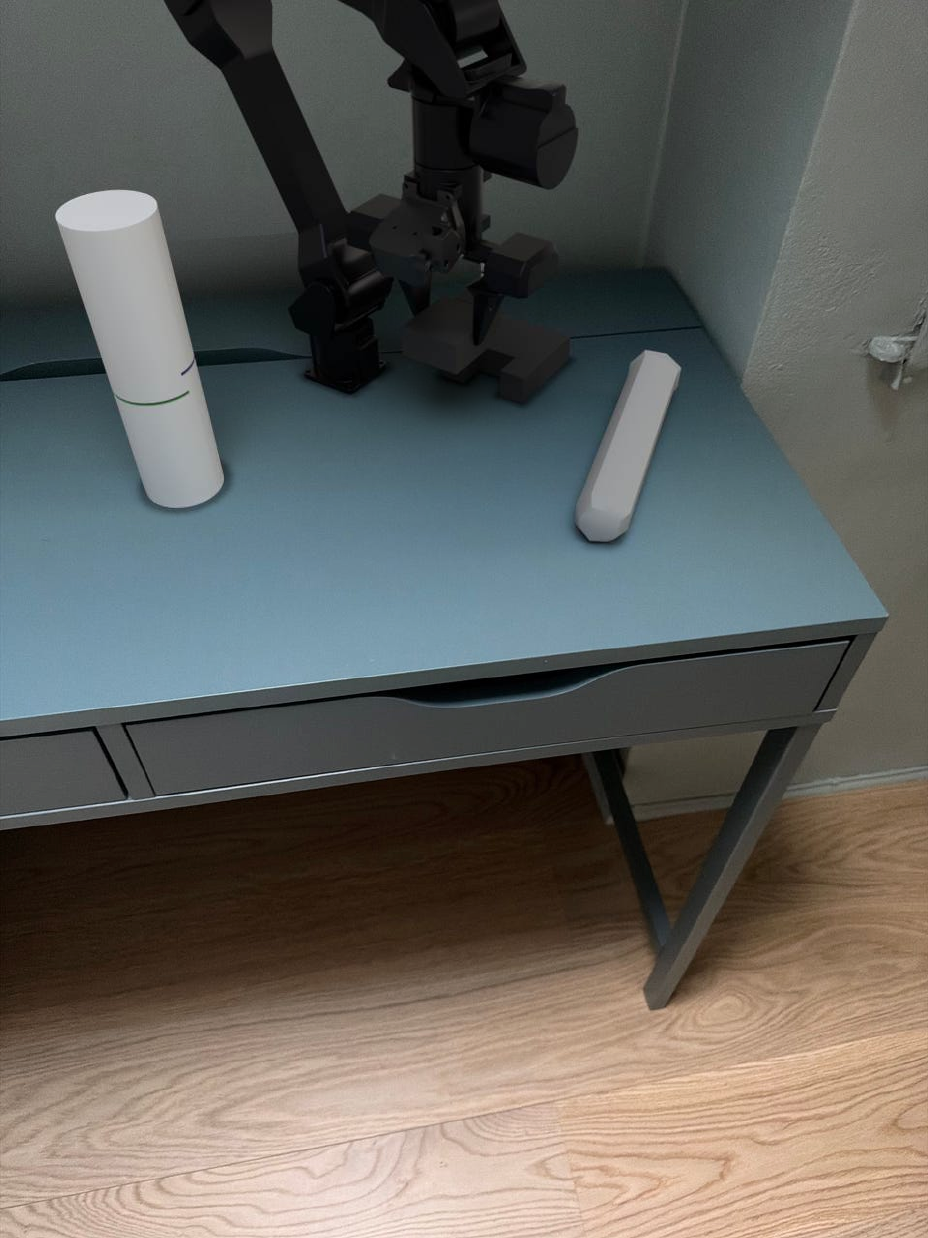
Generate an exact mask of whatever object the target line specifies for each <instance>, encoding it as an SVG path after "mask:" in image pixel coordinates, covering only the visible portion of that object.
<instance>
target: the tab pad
mask: <svg viewBox="0 0 928 1238" xmlns="http://www.w3.org/2000/svg"><path fill="white" fill-rule="evenodd" d="M473 303H474V297H473V295H472V294H471V293H470V292H469V291H468V289H467V288H466V289H465V290H464V291H462V292H461V293H460V294H458V295H457V296H455V297H451V296H448V295H445V294H443V295H441V297H439V298H438V299H436V300H435V301H434V302H433V303H430V306H429V307H427V308H426V309H425V310H423V311H422V312H420V313H419V314H418V315H416V316H415V317H414V316H413V317H412V318H411V319H409V320H408V321H406V322H405V323H404V324H403V325H401V343H402V344H401V345H402V356H404V357H405V358H406V357H407V358H408V359H412V360H415V361H417V362H419V363H423V364H426V365H427V366H431V367H434V368H436V369H440V370H441V371H442V370H445V371H448V372H450V373H453V374H458V373H459V372H460V371H461V370H463V369H464V368H465V367H466V366H467V365H468V364H470V363H471V362H472V361H473V360H474V359H476V358H477V357H478V356H479V355H480V354H482V353H483V352H484V351H485V350H486V349H488V348H489V347H490V346H491V345H492V344H493V343H495V342H496V336H497V328H498V327H499V326H500V325H501V314H502V306H503V305H502V303H503V302H502V303H501V305H500V307H499V309H498V311H497V313H496V315H495V318H494V320H493V322H492V324H491V326H490V328H489V330H488V332H487V334H486V337H485V339H484V341H483V342H482V343H481V344H480V345H479V346H476V345H474V340H473Z"/></svg>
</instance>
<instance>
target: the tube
mask: <svg viewBox="0 0 928 1238" xmlns="http://www.w3.org/2000/svg"><path fill="white" fill-rule="evenodd" d="M681 371H682V367H681V366H680V365H679V364H678V363H677V362H676V361H675V360H674V359H673V358H672V357H671V356H669V354H668V353H665V352H659V351H654V350H649V349H645V350H643V351H642V352H641V353H640V354H638V356H636V357H635V358H634V359H633V360H632V361H631V362H630V364H629V369H628V375H627V377H626V380H625V382H624V385H623V387H622V389H621V393H620V395H619V397H618V400H617V403H616V405H615V407H614V410H613V412H612V415H611V417H610V420H609V423H608V425H607V428H606V430H605V433H604V435H603V437H602V440H601V442H600V444H599V447H598V450H597V452H596V455H595V457H594V460H593V463H592V465H591V468H590V470H589V473H588V474H587V477H586V480H585V483H584V485H583V487H582V489H581V492H580V495H579V498H578V499H577V503H576V507H575V514H574V515H575V516H574V523H575V525H576V526H577V527H578V529H579V530H580V531H581V532H582V534H584V536H585V537H586V538H587V540H589V542H612V541H613V540H615V539H616V538H618V537H619V536H621V535H622V534H624V533H625V532H627V531H628V529H629V527H630V523H631V521H632V517H633V515H634V512H635V509H636V506H637V502H638V499H639V497H640V493H641V490H642V487H643V485H644V481H645V479H646V475H647V472H648V470H649V469H648V468H649V466H650V463H651V461H652V457H653V454H654V451H655V448H656V445H657V442H658V439H659V436H660V433H661V430H662V427H663V424H664V422H665V418H666V415H667V412H668V408H669V406H670V403H671V401H672V397H673V393H674V391H676V390H677V389H678V386H679V381H680V377H681Z"/></svg>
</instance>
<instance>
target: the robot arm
mask: <svg viewBox="0 0 928 1238" xmlns="http://www.w3.org/2000/svg"><path fill="white" fill-rule="evenodd" d="M337 1H338V2H339V3H341V4H343V5H345V6H347V7H349V8H351V9H353V10H355V11H357V12H358V13H361V14H362V15H363V16H365V17H366V18H368V19H369V21H371V22H372V23H373V24H374V26H375V28H376V31H377V32H378V35H379V36H380V38H381V40H382V41H383V43H384V44H385V45H387V46H388V47H389V48H391V50H393V51H394V52H395V53H397V54H398V55H400V56H401V57H402V58H403V61H402V62H401V64H400V65H399V66H398V67H397V68H396V69H395V70H394V71H393V73H391V75H389V76H388V77H387V80H386V83H387V86H388V87H389V88H391V89H395V90H398V91H402V92H405V93H409V94H410V109H411V110H410V111H411V112H410V113H411V138H412V139H411V143H412V170H411V171H409V172H407V173H405V174H404V175H403V182H402V183H401V187H402V188H401V189H402V193H401V198H398V197H395V196H391V195H388V194H385V193H378V194H377V195H376V196H373V197H372V198H370V199H368V200H366V201H365V202H363V203H361V204H360V205H358V206H357V207H355V208H353V209H351V210H350V211H349V212H348V211H347V209H346V208H345V205H344V204H343V202H342V199H341V197H340V194H339V192H338V190H337V188H336V185H335V183H334V181H333V179H332V177H331V174H330V172H329V170H328V168H327V165H326V163H325V161H324V158H323V157H322V154H321V152H320V150H319V148H318V147H319V146H317V143H316V140H315V139H314V137H313V134H312V132H311V130H310V128H309V125H308V123H307V121H306V119H305V116H304V114H303V111H302V109H301V107H300V104H299V103H298V101H297V99H296V96H295V94H294V92H293V89H292V87H291V84H290V83H289V81H288V78H287V75H286V73H285V72H284V69H283V67H282V64H281V63H280V60H279V58H278V55H277V54H276V51H275V49H274V45H273V15H274V14H273V10H274V9H273V8H274V7H273V6H274V5H273V2H272V0H163V2H164V5H165V6H166V8H167V10H168V11H169V14H171V16H172V18H173V19H174V22H175V24H176V25H177V26H178V28H179V29H180V30H179V31H181V33H182V34H183V36H184V38H185V40H186V41H187V43H188V44H189V45H190V46H191V47H192V48H193V49H195V50H196V51H197V52H198V53H200V54H201V55H202V56H203V57H204V58H206V59H207V60H208V61H209V62H210V63H212V65H214V66H215V67H216V68H217V69H219V71H220V72H221V74H222V75H223V78H224V80H225V82H226V83H227V86H228V88H229V90H230V93H231V94H232V96H233V98H234V100H235V102H236V105H237V107H238V109H239V111H240V113H241V115H242V118H243V119H244V122H245V124H246V126H247V128H248V130H249V132H250V135H251V136H252V139H253V140H254V143H255V145H256V146H257V149H258V151H259V153H260V155H261V157H262V160H263V162H264V164H265V166H266V168H267V170H268V172H269V174H270V176H271V179H272V181H273V183H274V185H275V188H276V189H277V191H278V194H279V196H280V197H281V200H282V202H283V204H284V206H285V208H286V210H287V212H288V214H289V217H290V218H291V221H292V223H293V225H294V227H295V229H296V232H297V236H298V237H297V272H298V274H299V277H300V280H301V281H302V285H303V287H304V290H303V291H302V292H301V294H299V296H298V297H297V298H296V299H295V300H294V301H293V302H292V303H291V304H290V305H289V306H288V307H287V311H288V314H289V316H290V318H291V319H290V320H291V321H292V324H293V327H294V329H296V330H298V331H301V332H303V333H305V334H308V337H309V346H310V352H311V359H312V365H311V366H309V367H308V368H306V369H305V370H304V371H303V374H304V377H305V378H307V379H310V380H313V381H315V382H318V383H320V384H322V385H326V386H328V387H331V388H334V389H336V390H339V391H342V392H344V393H347V394H353V393H355V392H356V391H357V390H359V389H360V388H361V387H362V386H364V385H365V384H366V383H368V382H369V381H371V380H372V379H373V378H374V377H376V376H377V375H378V374H380V372H382V371H383V370H384V369H386V368H387V362H386V361H385V360H382V359H380V354H379V342H378V341H379V340H378V337H377V335H375V327H374V319H373V318H371V317H370V316H371V315H373V314H375V313H376V312H377V311H381V310H383V309H384V307H385V302H386V299H388V297H389V296H390V294H391V292H392V289H393V288H392V287H393V283H394V282H395V279H396V280H397V282H398V283H399V285H400V288H401V290H402V292H403V294H404V297H405V300H406V302H407V304H408V306H409V309H410V311H411V313H412V316H413V318H414V317H415V316H416V315H418V314H419V313H420V312H422V311H423V310H425V309H426V308H427V307H429V306H430V305H431V291H432V290H431V289H432V276H433V274H434V273H441V274H444V275H447V274H449V273H450V271H452V269H453V268H454V266H455V265H456V264H457V263H458V261H459V259H461V260H464V261H468V262H471V263H474V264H478V265H480V274H479V277H477V278H476V279H475V280H473V281H472V282H471V283H469V284H468V285H466V290H467V289H468V291H469V292H470V293H471V294H472V295H473V297H474V303H473V340H474V345H476V346H479V345H480V344H481V343H482V342H483V341H484V339H485V337H486V334H487V332H488V330H489V328H490V326H491V324H492V322H493V320H494V318H495V315H496V313H497V311H498V309H499V307H500V305H501V303H503V301H504V299H505V298H506V296H507V297H511V298H514V299H517V300H520V299H522V300H523V299H528V298H529V297H531V295H533V294H534V293H535V292H537V291H538V290H539V289H540V288H542V287H543V286H544V285H545V284H546V283H548V282H549V281H550V280H551V279H553V278H554V277H555V276H556V275H557V274H558V268H559V251H558V250H557V247H556V246H555V244H554V243H553V241H550V240H547V239H544V238H540V237H536V236H534V235H529V234H526V233H522V232H518V231H517V232H515V233H514V234H512V235H511V236H509V237H508V238H507V239H505V240H504V241H503V242H501V243H498V242H493V241H490V240H486V239H483V233H484V232H485V231H487V230H488V229H490V228H491V221H492V220H491V219H492V217H491V214H487V213H484V184H485V182H488V181H489V180H491V179H492V178H493V175H497V176H500V177H503V178H507V179H510V180H513V181H517V182H521V183H524V184H527V185H530V186H535V187H537V188H541V189H544V190H547V191H549V190H554V189H556V188H557V187H558V186H559V185H560V184H561V183H562V182H563V180H564V179H565V178H566V176H567V175H568V173H569V170H570V169H571V167H572V164H573V161H574V158H575V155H576V151H577V148H578V141H579V133H580V131H579V130H580V129H579V127H577V121H576V116H575V115H576V114H575V112H574V110H573V108H572V106H570V105H569V104H568V103H566V99H567V97H566V96H567V87H566V84H564V83H560V82H555V81H538V80H533V79H530V78H526V77H521V75H523V74H525V73H526V72H527V70H528V66H527V63H526V60H525V59H524V57H523V54H522V52H521V50H520V48H519V46H518V43H517V41H516V39H515V36H514V34H513V32H512V30H511V27H510V25H509V23H508V21H507V18H506V16H505V14H504V12H503V9H502V7H501V5H500V3H499V0H337ZM482 51H483V52H484V54H485V55H486V57H483V58H481V59H478V60H476V61H474V62H472V63H469V64H467V65H464V66H462V67H461V66H460V63H459V61H462V60H464V59H467V58H469V57H470V56H473V55H476V54H478V53H481V52H482ZM501 306H502V305H501Z"/></svg>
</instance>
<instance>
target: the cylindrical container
mask: <svg viewBox="0 0 928 1238" xmlns="http://www.w3.org/2000/svg"><path fill="white" fill-rule="evenodd" d="M54 216H55V220H56V224H57V226H58V230H59V233H60V236H61V239H62V242H63V244H64V248H65V251H66V254H67V257H68V260H69V263H70V266H71V269H72V272H73V275H74V278H75V281H76V284H77V287H78V290H79V294H80V296H81V299H82V302H83V306H84V308H85V311H86V315H87V318H88V321H89V323H90V326H91V329H92V333H93V337H94V339H95V342H96V345H97V348H98V350H99V351H98V352H99V355H100V357H101V360H102V363H103V366H104V369H105V373H106V375H107V378H108V381H109V384H110V388H111V391H112V393H113V396H114V401H115V402H116V405H117V409H118V411H119V415H120V418H121V420H122V423H123V427H124V429H125V433H126V436H127V439H128V442H129V445H130V448H131V451H132V454H133V457H134V461H135V463H136V467H137V469H138V473H139V476H140V480H141V481H142V485H143V488H144V491H145V494H146V496H147V497H148V499H149V500H151V501H152V502H153V503H154V504H156V505H157V506H161V507H165V508H170V509H172V508H173V509H183V508H189V507H193V506H197V505H200V504H203V503H205V502H206V501H209V500H210V499H211V498H213V497H214V496H216V495H217V494H218V493H219V492H220V490H221V489H222V487H223V485H224V483H225V476H224V471H223V467H222V463H221V458H220V455H219V451H218V446H217V442H216V439H215V434H214V430H213V426H212V422H211V418H210V413H209V410H208V405H207V402H206V397H205V393H204V389H203V385H202V381H201V377H200V373H199V369H198V365H197V360H196V357H195V351H194V349H193V345H192V341H191V335H190V332H189V327H188V324H187V320H186V316H185V311H184V308H183V303H182V300H181V296H180V290H179V287H178V282H177V279H176V275H175V271H174V266H173V263H172V258H171V254H170V250H169V246H168V241H167V238H166V235H165V230H164V225H163V221H162V218H161V214H160V210H159V205H158V202H157V200H156V199H155V198H154V197H153V196H151V195H149V194H147V193H144V192H142V191H137V190H130V189H110V190H109V189H108V190H102V191H101V190H100V191H96V192H90V193H87V194H83V195H80V196H77V197H74V198H72V199H70V200H68V201H66V202H65V203H63V204H62V205H60V206H59V208H58V209H57V210H56V212H55V214H54Z"/></svg>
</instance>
